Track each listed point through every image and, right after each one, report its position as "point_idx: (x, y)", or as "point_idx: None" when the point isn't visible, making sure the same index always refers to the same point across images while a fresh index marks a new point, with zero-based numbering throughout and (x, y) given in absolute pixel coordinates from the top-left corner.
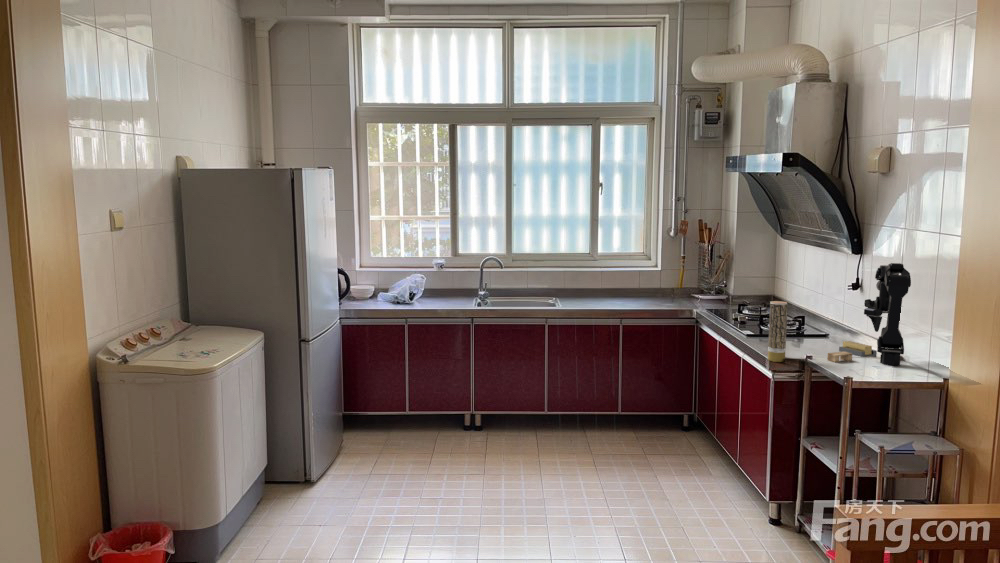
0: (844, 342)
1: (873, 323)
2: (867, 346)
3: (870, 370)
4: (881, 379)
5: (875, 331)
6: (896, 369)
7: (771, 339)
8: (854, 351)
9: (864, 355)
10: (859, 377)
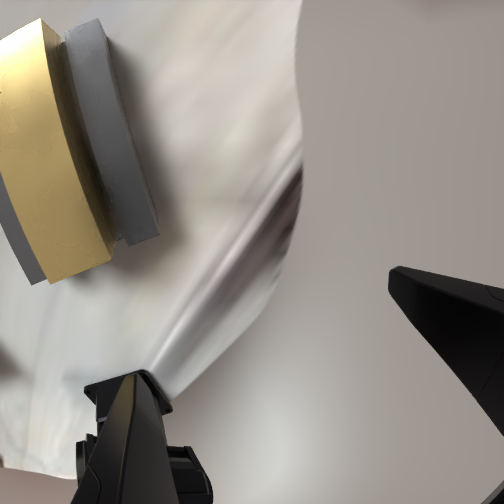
0: None
1: (96, 480)
2: (69, 276)
3: (47, 421)
4: (63, 474)
5: (128, 376)
6: None
7: None
8: (6, 226)
9: None
10: (16, 460)
